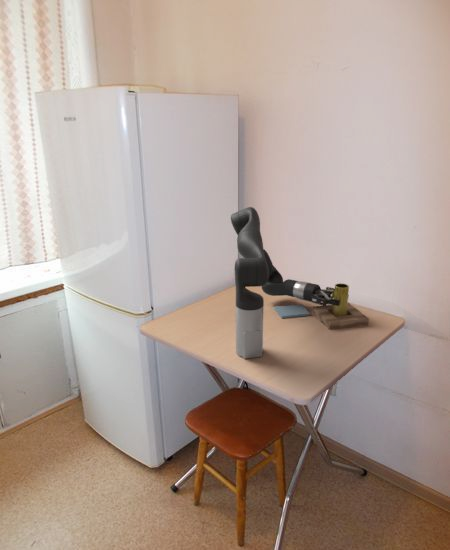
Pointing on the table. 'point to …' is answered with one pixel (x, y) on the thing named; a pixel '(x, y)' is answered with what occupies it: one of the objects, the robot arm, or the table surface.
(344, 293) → the vase
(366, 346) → the table surface
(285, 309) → the slate mat
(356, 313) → the socket stand
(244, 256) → the robot arm
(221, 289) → the table surface
